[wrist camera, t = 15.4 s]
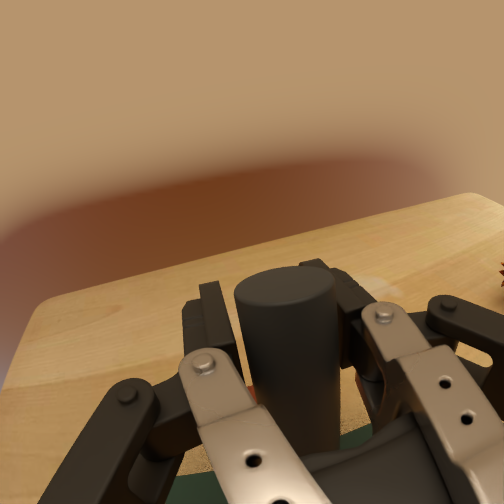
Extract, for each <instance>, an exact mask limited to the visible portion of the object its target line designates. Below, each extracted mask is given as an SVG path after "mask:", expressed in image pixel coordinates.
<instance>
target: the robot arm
mask: <svg viewBox="0 0 504 504" xmlns="http://www.w3.org/2000/svg"><path fill="white" fill-rule="evenodd" d="M299 266H310V267H318V268H322V269H325V270H327V271H329V272H330V273H331V274H332V275H333V276H334V279H335V287H336V300H337V315H338V333H339V357H340V367H341V369H345V368H348V367H351V366H354V368H355V369H356V373H355V381H356V384H357V387H358V389H359V392H360V394H361V397H362V399H363V402H364V405H365V407H366V410H367V412H368V415H369V418H370V420H371V424H372V437H371V438H369V439H368V440H367V441H365V442H364V443H363V444H361V445H360V446H357V447H354V448H348V449H342V450H335V451H328V452H321V453H312V454H309V455H305V456H302V457H298V456H297V454H296V453H295V451H294V450H293V448H292V447H291V445H290V444H289V442H288V441H287V439H286V438H285V436H284V435H283V433H282V432H281V430H280V429H279V427H278V426H277V424H276V423H275V421H274V419H273V418H272V416H271V415H270V413H269V412H268V410H267V409H266V408H265V406H264V405H263V404H259V405H258V404H257V403H256V402H255V400H254V398H253V397H252V395H251V393H250V392H249V390H248V388H247V387H246V385H245V381H244V377H243V372H242V368H241V363H240V359H239V354H238V349H237V345H236V341H235V337H234V334H233V330H232V327H231V323H230V320H229V316H228V313H227V309H226V306H225V302H224V299H223V295H222V291H221V288H220V284H219V281H214V282H209V283H205V284H200V285H199V290H200V297H201V298H200V299H195V300H190V301H187V302H186V304H185V306H184V307H183V309H182V325H183V342H184V358H183V359H182V360H181V362H180V364H179V368H178V371H179V372H178V373H177V374H175V375H174V376H173V377H171V378H170V379H168V380H166V381H164V382H161V383H159V384H157V385H154V386H151V384H150V383H149V382H147V381H145V380H143V379H139V378H130V379H125V380H122V381H120V382H118V383H116V384H115V385H114V386H112V387H111V388H110V389H109V391H108V392H107V393H106V395H105V396H104V398H103V399H102V401H101V402H100V404H99V405H98V407H97V408H96V410H95V412H94V413H93V415H92V416H91V418H90V419H89V421H88V422H87V424H86V425H85V427H84V428H83V430H82V432H81V433H80V435H79V436H78V438H77V439H76V441H75V443H74V444H73V446H72V447H71V449H70V450H69V452H68V454H67V455H66V457H65V458H64V460H63V462H62V463H61V465H60V467H59V468H58V470H57V471H56V473H55V475H54V476H53V478H52V480H51V481H50V483H49V485H48V486H47V488H46V490H45V491H44V493H43V495H42V496H41V498H40V500H39V502H38V503H37V504H165V502H166V500H167V497H168V495H169V492H170V490H171V487H172V485H173V482H174V480H175V477H176V475H177V472H178V470H179V467H180V465H181V462H182V460H183V457H184V454H185V452H186V451H188V450H190V449H192V448H194V447H196V446H199V445H201V444H203V445H204V448H205V450H206V453H207V455H208V458H209V460H210V463H211V465H212V467H213V470H214V472H215V474H216V477H217V479H218V481H219V483H220V486H221V488H222V490H223V492H224V494H225V497H226V499H227V501H228V503H229V504H504V423H503V422H502V421H504V315H502V314H499V313H497V312H494V311H491V310H489V309H486V308H484V307H481V306H478V305H476V304H473V303H471V302H468V301H465V300H463V299H460V298H457V297H454V296H451V295H438V296H435V297H433V298H431V299H430V301H429V303H428V308H427V311H423V312H415V313H406V312H405V310H404V309H403V308H402V307H400V306H399V305H397V304H394V303H391V302H377V301H376V300H375V299H374V298H373V297H372V296H371V295H370V294H369V293H368V292H367V291H366V290H365V289H364V288H362V287H361V286H359V284H358V283H357V282H356V281H355V280H353V278H352V277H350V276H349V275H348V274H347V273H346V272H344V271H342V270H339V269H337V268H331V269H330V268H329V267H328V266H327V265H326V264H325V263H324V262H323V261H322V260H321V259H319V258H317V259H313V260H309V261H304V262H300V263H299ZM459 341H460V342H462V343H464V344H467V345H469V346H471V347H474V348H476V349H478V350H480V351H483V352H485V353H487V354H489V355H490V356H491V358H492V360H493V364H492V365H491V366H490V367H482V366H479V365H477V364H475V363H473V362H471V361H468V360H466V359H464V358H462V357H459V356H457V355H455V352H456V349H457V346H458V343H459ZM501 420H502V421H501Z"/></svg>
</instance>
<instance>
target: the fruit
mask: <svg viewBox="0 0 504 504" xmlns="http://www.w3.org/2000/svg"><path fill="white" fill-rule="evenodd" d="M501 264H502V265H503V266H504V263H502V262H501ZM499 272H500V273H501V274H502V275H503V276H504V270H501V271H499ZM502 286H504V281H503V282H502V285H501V287H502Z"/></svg>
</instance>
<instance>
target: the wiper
mask: <svg viewBox="0 0 504 504" xmlns="http://www.w3.org/2000/svg"><path fill="white" fill-rule="evenodd" d="M234 298H235V303H236V308H237V313H238V318H239V322H240V327H241V332H242V337H243V341H244V346H245V351H246V355H247V360H248V364H249V369H250V374H251V378H252V383H253V387H254V392H255V396H256V400H257V404H258V405H259V404H263V405H264V406H265V408H266V409H267V410H268V412H269V413H270V415H271V416H272V418H273V419H274V421H275V423H276V424H277V426H278V427H279V429H280V430H281V432H282V433H283V435H284V436H285V438H286V439H287V441H288V442H289V444H290V445H291V447H292V448H293V450H294V451H295V453H296V454H297V456H298V457H302V456H305V455H309V454H312V453H321V452H328V451H335V450H342V449H348V448H354V447H357V446H360V445H361V444H363V443H364V442H365V441H367V440H368V439H369V438H371V437H372V424H371V423H370V424H368V425H365V426H363V427H360V428H358V429H356V430H353V431H351V432H348V433H346V434H343V435H341V436H340V357H339V333H338V315H337V300H336V287H335V279H334V276H333V275H332V274H331V273H330V272H329V271H327V270H325V269H322V268H318V267H310V266H290V267H281V268H275V269H271V270H267V271H263V272H260V273H257V274H255V275H252V276H250V277H248V278H246V279H244V280H243V281H241V282H240V283H239V284H238V285H237V286H236V288H235V290H234ZM165 504H229V503H228V501H227V499H226V497H225V494H224V492H223V490H222V488H221V486H220V483H219V481H218V479H217V477H216V474H215V472H214V471H209V472H203V473H196V474H189V475H182V476H176V477H175V480H174V482H173V485H172V487H171V490H170V492H169V495H168V497H167V500H166V502H165Z"/></svg>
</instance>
